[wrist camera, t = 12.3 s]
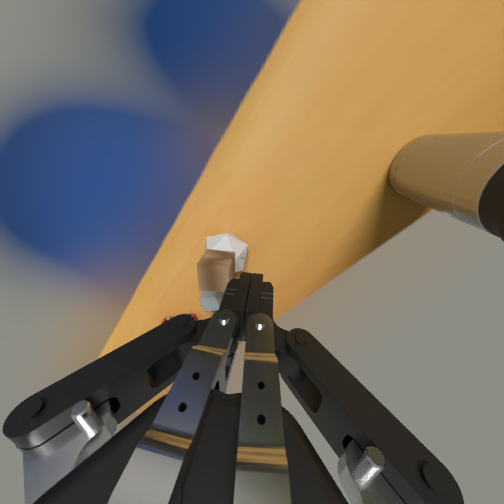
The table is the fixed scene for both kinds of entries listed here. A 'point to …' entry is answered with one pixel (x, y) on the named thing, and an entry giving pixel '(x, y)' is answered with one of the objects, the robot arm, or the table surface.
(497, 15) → the table surface
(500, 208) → the robot arm
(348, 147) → the table surface
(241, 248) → the die
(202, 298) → the slate block
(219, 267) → the walnut block
